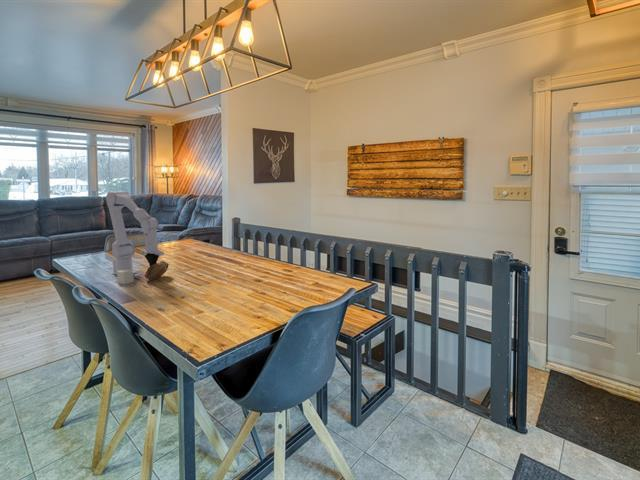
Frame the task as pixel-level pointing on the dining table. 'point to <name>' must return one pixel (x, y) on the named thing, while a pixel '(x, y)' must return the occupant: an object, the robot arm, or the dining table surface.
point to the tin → (156, 270)
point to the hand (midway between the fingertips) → (153, 268)
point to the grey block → (125, 276)
